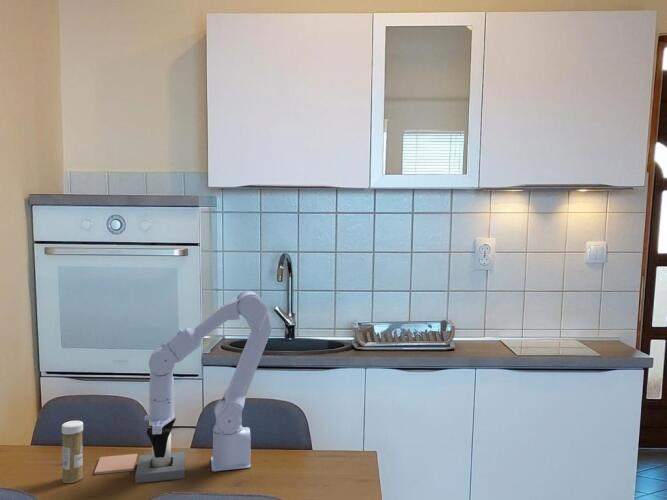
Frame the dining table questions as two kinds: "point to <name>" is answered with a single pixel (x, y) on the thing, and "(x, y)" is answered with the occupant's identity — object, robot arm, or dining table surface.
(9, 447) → the dining table surface
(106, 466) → the tile
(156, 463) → the plug
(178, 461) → the grey square frame
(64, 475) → the sprinkles bottle
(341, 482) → the dining table surface
